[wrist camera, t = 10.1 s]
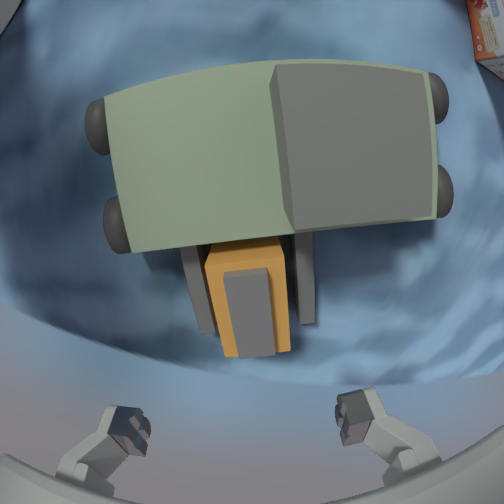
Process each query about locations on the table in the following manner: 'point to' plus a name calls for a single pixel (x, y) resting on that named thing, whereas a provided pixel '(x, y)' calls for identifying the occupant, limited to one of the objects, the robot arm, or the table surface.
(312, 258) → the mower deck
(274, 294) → the orange block grey plate
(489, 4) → the cracker box
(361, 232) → the table surface
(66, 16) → the table surface
